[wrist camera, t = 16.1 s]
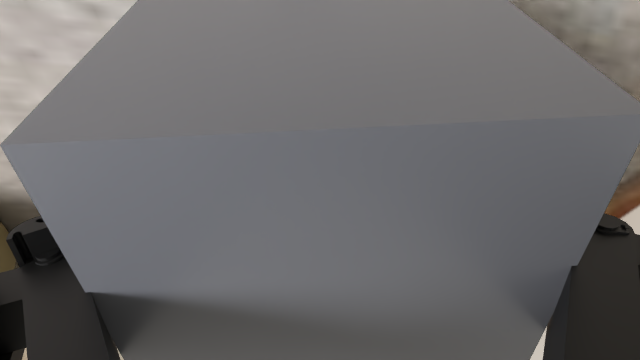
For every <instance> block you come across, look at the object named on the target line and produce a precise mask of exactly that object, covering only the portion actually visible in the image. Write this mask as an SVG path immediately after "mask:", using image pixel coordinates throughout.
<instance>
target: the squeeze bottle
mask: <svg viewBox="0 0 640 360" xmlns="http://www.w3.org/2000/svg"><path fill="white" fill-rule="evenodd" d="M8 234H9V233H8V231H7V230H6V228H5V227H4V225H3V224H1V223H0V273H1V272H5V271H9V270H13V269H14V268H15V264H16V259H15V257H14V255H13V253H12V251H11V249H10V247H9V246H8V244H7V242H6V239H7V236H8Z"/></svg>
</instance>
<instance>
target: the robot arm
mask: <svg viewBox="0 0 640 360" xmlns="http://www.w3.org/2000/svg"><path fill="white" fill-rule="evenodd" d="M6 242H7V244H8V246H9V247H10V249H11V251H12V253H13V255H14V257H15V259H16V261H17V263H18V265H19V267H20V268H17V269H13V270H9V271H5V272H1V273H0V360H22V357H23V353H24V349H25V348H26V347H27V358H28V360H120V357H119V354H118V350H117V347H116V345H115V343H114V341H113V340H112V338H111V336H110V334H109V332H108V329H107V327H106V325H105V323H104V320H103V318H102V316H101V314H100V311H99V309H98V307H97V305H96V302H95V300H94V298H93V295H92V293H91V292H85V291H84V289H83V288H82V286H81V284H80V283H79V281H78V279H77V277H76V276H75V274H74V272H73V270H72V269H71V267H70V265H69V264H68V262H67V260H66V258H65V257H64V255H63V253H62V251H61V250H60V248H59V246H58V244H57V243H56V241H55V239H54V238H53V236H52V234H51V232H50V231H49V229H48V227H47V225H46V224H45V222H44V220H43V219H42V217H41V216H39V217H35V218H32V219H30V220H27V221H25V222H23V223H21V224H20V225H18V226H16V227H15V228H14V229H13V230H12V231H11V232H10V233H9V234H8V236H7V239H6ZM543 360H640V235H637V234H635V233H634V231H633V229H632V227H630V226H629V225H628V224H627V223H626V222H624V221H622V220H620V219H618V218H617V217H614V216H611V215H608V214H603V216H602V218H601V220H600V222H599V224H598V226H597V228H596V230H595V232H594V234H593V236H592V238H591V240H590V242H589V244H588V246H587V248H586V249H585V251H584V253H583V255H582V257H581V259H580V261H579V263H578V265H577V266H571V269H570V272H569V274H568V277H567V279H566V282H565V285H564V287H563V290H562V292H561V295H560V298H559V300H558V303H557V305H556V308H555V310H554V313H553V315H552V317H551V319H550V321H549V323H548V325H547V331H546V339H545V347H544V356H543Z"/></svg>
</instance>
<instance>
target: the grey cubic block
mask: <svg viewBox="0 0 640 360" xmlns="http://www.w3.org/2000/svg"><path fill="white" fill-rule="evenodd" d="M639 143H640V102H639V101H638V100H636V99H635V98H634V97H632V96H631V95H630V94H628V93H627V92H626V91H625V90H623V89H622V88H621V87H619V86H618V85H617V84H616V83H614V82H613V81H612V80H610V79H609V78H608V77H607V76H605V75H604V74H603V73H601V72H600V71H599V70H598V69H596V68H595V67H594V66H592V65H591V64H590V63H588V62H587V61H586V60H585V59H583V58H582V57H581V56H579V55H578V54H577V53H576V52H574V51H573V50H572V49H570V48H569V47H568V46H567V45H565V44H564V43H563V42H561V41H560V40H559V39H557V38H556V37H555V36H554V35H552V34H551V33H550V32H548V31H547V30H546V29H545V28H543V27H542V26H541V25H539V24H538V23H537V22H536V21H534V20H533V19H532V18H530V17H529V16H528V15H527V14H525V13H524V12H523V11H521V10H520V9H519V8H517V7H516V6H515V5H514V4H512V3H511V2H510V1H508V0H138V1H137V2H136V3H135V4H134V5H133V6H132V7H131V8H130V9H129V10H128V11H127V12H126V13H125V15H124V16H123V17H122V18H121V19H120V20H119V21H118V22H117V23H116V24H115V25H114V26H113V27H112V28H111V29H110V30H109V31H108V32H107V33H106V34H105V35H104V37H103V38H102V39H101V40H100V41H99V42H98V43H97V44H96V45H95V46H94V47H93V48H92V49H91V50H90V51H89V52H88V53H87V54H86V55H85V56H84V58H83V59H82V60H81V61H80V62H79V63H78V64H77V65H76V66H75V67H74V68H73V69H72V70H71V71H70V72H69V73H68V74H67V75H66V76H65V77H64V78H63V80H62V81H61V82H60V83H59V84H58V85H57V86H56V87H55V88H54V89H53V90H52V91H51V92H50V93H49V94H48V95H47V96H46V97H45V98H44V99H43V101H42V102H41V103H40V104H39V105H38V106H37V107H36V108H35V109H34V110H33V111H32V112H31V113H30V114H29V115H28V116H27V117H26V118H25V119H24V120H23V121H22V123H21V124H20V125H19V126H18V127H17V128H16V129H15V130H14V131H13V132H12V133H11V134H10V135H9V136H8V137H7V138H6V139H5V140H4V141H3V142H2V143H1V145H0V146H1V148H2V149H3V151H4V153H5V155H6V156H7V158H8V160H9V162H10V163H11V165H12V167H13V168H14V170H15V172H16V174H17V175H18V177H19V179H20V181H21V182H22V184H23V186H24V187H25V189H26V191H27V193H28V194H29V196H30V198H31V200H32V201H33V203H34V205H35V206H36V208H37V210H38V212H39V213H40V215H41V217H42V219H43V220H44V222H45V224H46V225H47V227H48V229H49V231H50V232H51V234H52V236H53V238H54V239H55V241H56V243H57V244H58V246H59V248H60V250H61V251H62V253H63V255H64V257H65V258H66V260H67V262H68V264H69V265H70V267H71V269H72V270H73V272H74V274H75V276H76V277H77V279H78V281H79V283H80V284H81V286H82V288H83V289H84V291H85V292H91V293H92V295H93V298H94V300H95V302H96V305H97V307H98V309H99V311H100V314H101V316H102V318H103V320H104V323H105V325H106V327H107V329H108V332H109V334H110V336H111V338H112V340H113V341H114V343H115V345H116V346H117V348H118V350H119V352H120V353H121V355H122V357H123V359H124V360H530V358H531V356H532V354H533V352H534V350H535V348H536V346H537V344H538V342H539V340H540V338H541V336H542V334H543V332H544V330H545V328H546V326H547V325H548V323H549V321H550V319H551V317H552V315H553V313H554V310H555V308H556V305H557V303H558V300H559V298H560V295H561V292H562V290H563V287H564V285H565V282H566V279H567V277H568V274H569V272H570V269H571V266H577V265H578V263H579V261H580V259H581V257H582V255H583V253H584V251H585V249H586V248H587V246H588V244H589V242H590V240H591V238H592V236H593V234H594V232H595V230H596V228H597V226H598V224H599V222H600V220H601V218H602V216H603V214H604V212H605V210H606V208H607V206H608V204H609V202H610V200H611V198H612V196H613V194H614V192H615V190H616V188H617V186H618V184H619V182H620V180H621V178H622V176H623V174H624V172H625V171H626V169H627V167H628V165H629V163H630V161H631V159H632V157H633V155H634V153H635V151H636V149H637V147H638V145H639Z"/></svg>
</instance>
